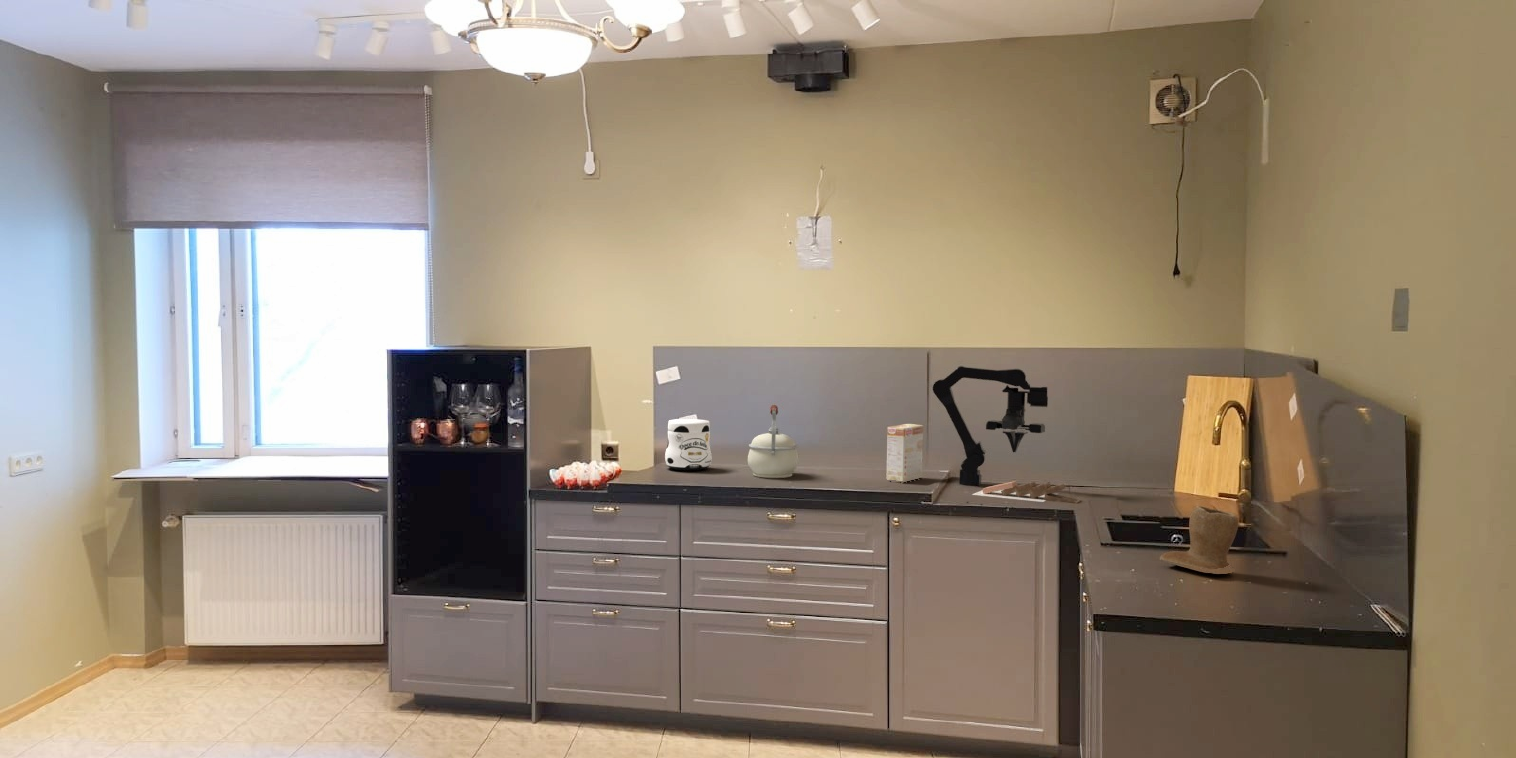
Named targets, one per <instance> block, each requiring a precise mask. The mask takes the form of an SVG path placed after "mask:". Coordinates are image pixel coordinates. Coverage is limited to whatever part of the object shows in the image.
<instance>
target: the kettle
mask: <svg viewBox="0 0 1516 758" xmlns="http://www.w3.org/2000/svg"><path fill="white" fill-rule="evenodd" d="M769 410H770V412H769V413H770V414H771V426H770V427H769V429H768V432H767V433H761V434H759V435H757V436H755V437H754V438H753V439H752V440H751V443H749V444H748V447H749V450H748V455H747V464H748V467H749V468H750V470H751V471H752V472H753V473H752V475H753V476H755V477H758V478H765V479H785V478H790V477H792V476H793V472H794V471H795V470H796V469H797V467H798V465H799V454H798V451H797V449H798V447H799V446H798V445H797V444H796V441H795V440H794V439H793V438H792V437H791V436H790V435H787V434H785V433H779V431H780V429H779V428H778V427H777V425H776V424H777V423H776V422H777V415H778V414H779V411H778V410H779V409H778V406H777V405H776V404H774V405H771V406H770V409H769Z"/></svg>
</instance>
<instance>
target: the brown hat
mask: <svg viewBox="0 0 1516 758" xmlns="http://www.w3.org/2000/svg"><path fill="white" fill-rule="evenodd" d="M1188 524H1189V525H1188V526H1189V527H1188V529H1189V530H1188V531H1189V539H1190V540H1189V541H1190V542H1189V543H1190V546H1189V550H1187V551H1177V550H1173V551H1172V550H1171V551H1168V552H1165V553H1163V554H1161V555H1160V557H1159V560H1160V561H1161V560H1164V561H1168V562H1173V563H1177V564H1184V565H1190V566H1194V567H1199V568H1207V569H1218V568H1224V567H1226V566H1228V565H1229V564H1230V563H1229V562H1228V560H1227V559H1228V553H1229V550H1230V549H1231V547H1232V544H1233V543H1234V540H1235V538H1236V535H1237V533H1238V532H1237V531H1238V528H1239V518H1238V516H1237V515H1236V514H1234V513H1231V512H1227V511H1224V510H1219V509H1215V508H1210V507H1206V506H1201V505H1196V506H1195V507H1193V509H1192V510H1191V513H1190V516H1189V523H1188Z"/></svg>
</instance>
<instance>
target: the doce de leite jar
mask: <svg viewBox="0 0 1516 758" xmlns="http://www.w3.org/2000/svg"><path fill="white" fill-rule="evenodd" d="M710 430H711V424H710V420H707V419H698V418H697V419H695V418H694V419H693V418H678V419H670V420H668V423H667V447H666V449H665V454H664V459H665V465H666V466H667V467H668V468H670V469H673V470H676V471H677V470H679V471H699V470H705V469H707V468H709V467H710V466H711V464H712V459H713V453H712V449H711V444H710V439H711V438H710V437H711V432H710Z"/></svg>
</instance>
